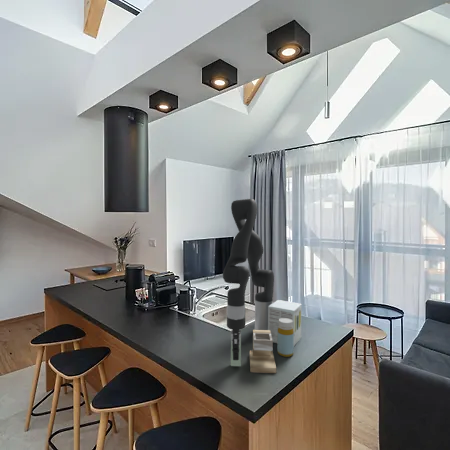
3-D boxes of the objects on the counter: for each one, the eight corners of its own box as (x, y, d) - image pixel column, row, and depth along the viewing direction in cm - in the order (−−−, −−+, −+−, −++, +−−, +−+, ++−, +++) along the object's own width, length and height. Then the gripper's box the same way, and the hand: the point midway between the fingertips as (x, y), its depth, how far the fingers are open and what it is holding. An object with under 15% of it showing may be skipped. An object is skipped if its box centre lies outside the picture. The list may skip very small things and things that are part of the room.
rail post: (231, 360, 118) (231, 332, 118) (240, 361, 118) (240, 332, 118) (230, 365, 114) (230, 336, 114) (240, 366, 114) (240, 336, 114)
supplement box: (293, 347, 133) (294, 310, 133) (267, 341, 140) (267, 306, 140) (301, 337, 145) (302, 303, 144) (277, 332, 152) (277, 299, 151)
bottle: (274, 353, 128) (274, 320, 127) (283, 348, 133) (283, 316, 132) (287, 359, 123) (288, 324, 122) (296, 353, 128) (296, 320, 127)
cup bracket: (249, 355, 126) (249, 328, 126) (272, 355, 126) (272, 328, 125) (250, 372, 112) (250, 341, 112) (276, 373, 112) (276, 342, 111)
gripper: (227, 309, 123) (227, 348, 123) (225, 321, 109) (225, 365, 109) (245, 309, 122) (245, 349, 123) (245, 322, 108) (245, 366, 109)
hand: (235, 356), depth 116 cm, fingers closed on rail post, 4 cm apart
